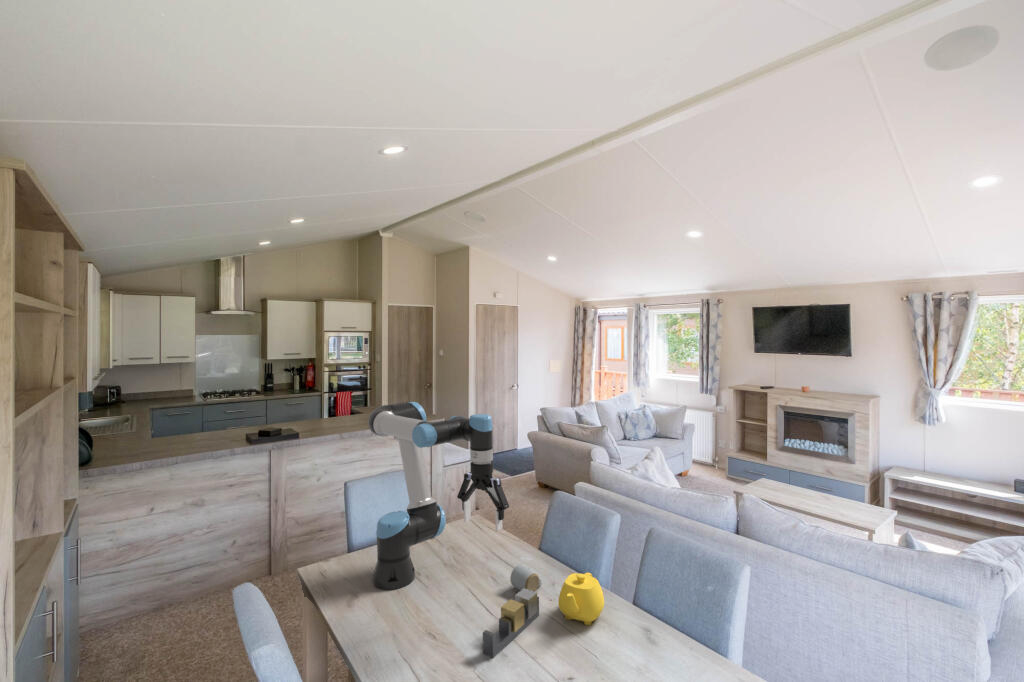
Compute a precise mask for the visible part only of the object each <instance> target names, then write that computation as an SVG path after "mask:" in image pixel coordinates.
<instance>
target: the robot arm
mask: <svg viewBox="0 0 1024 682" xmlns="http://www.w3.org/2000/svg"><path fill="white" fill-rule="evenodd" d="M367 426H368V428H369V430H370V432H371V433H373V434H374V435H376V436H380V437H388V436H390V437H391V436H392V437H393V438H394V440H395V441H397V442H398V444H399V450H400V451H399V452H400V456H401V461H402V462H401V463H402V468H403V473H404V479H405V483H406V491H407V496H408V500H409V501H408V505H407V506H406V510H405V511H404V510H398V511H391V512H389V513H386V514H384V515H382V516H381V517H380V518H379V519H378V521H377V523H376V531H375V532H376V533H375V534H376V549H377V551H376V552H377V561H376V565H375V568H374V569H375V570H374V572H373V574H372V583H373V585H374V586H375V587H376V588H378V589H380V588H381V590H396V589H401V588H403V587H406V586H408V585H410V584H412V583H413V582H414V580H415V578H416V571H415V566H414V564H413V562H412V561H413V560H412V558H411V554H410V550H411V548H410V547H412V546H415V545H418V544H421V543H423V542H426V541H428V540H433V539H435V538H437V537H439V536H440V535H442V533H443V532H444V530H445V529H446V528H445V527H446V513H445V511H444V509H443V507H442V506H441V504H438V503H437V500H436V499H434V498H433V497H432V493H431V488H430V483H429V477H428V473H427V466H426V461H425V456H424V451H423V448H430V447H433V446H439V445H444V444H448V443H452V442H457V441H467V442H469V445H470V446H469V451H470V452H469V454H470V455H469V457H470V458H469V460H470V463H469V464H470V468H469V469H470V471H468V472H466V473H464V474H463V481H462V483H461V486H460V488H459V491H458V493H457V496H456V497H457V499H458V500H461V505H462V511H463V522H465V523H467V522H468V521H470V520H472V516H471V514H472V513H471V510H472V509H471V499H470V497H471V496H472V495H473V493H474V492H475V491H476V489H477V490H481V491H484V492H485V493H486V494H488V496H489V498H490V500H491V502H492V503H493V504H494V505H493V506H495V508H496V510H494V511H495V512H494V516H495V531H496V532H497V531H500V530H502V529H503V520H504V519H505V510H506V509H509V507H510V505H509V502H508V499H507V496H506V494H505V492H504V489H503V486H502V481H501V478H500V477H497V478H493V473H494V462H493V460H494V451H493V450H494V447H493V442H494V441H493V440H494V439H493V436H494V435H493V429H494V427H493V417H492V416H491V415H490V414H487V413H475V414H471V415H470V416H469V418H468V417H465V416H461V415H458V416H457V415H454V416H451V417H450V418H449V419H445V420H444V419H443V420H439V421H428V420H427V415H426V411H425V409H424V407H423V406H422V405H421V404H419V402H416V401H407V402H400V403H392V404H384V405H379V406H378V407H376V408H374V410H372V411H371V413H370V414H369V416H368V418H367ZM471 481H472V483H471Z"/></svg>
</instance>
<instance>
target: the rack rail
mask: <svg viewBox="0 0 1024 682" xmlns="http://www.w3.org/2000/svg"><path fill="white" fill-rule="evenodd" d="M537 609H538V612H537V613H535V614H534V615H533V616H532V617H531V618H530V619H526V608H524V625H523V626H522V627H521V628H519V629H518V630H517V631H516V632H512V627H511V620H508V619H506V618H503V617H501V616H500V617H499V618H498V631H497V632H496V633H494V632H492V631H489V630H487V629H485V630H484V631H483V632H482V654H484V655H486V656H488V657H489V658H492V659H494V658H495V657H496V656H498V654H500V653H501V652H502V651H503V650H504V649H505V648H506V647H507V646H508V645H509V644H510V643H512V641H514V639H516V638H517V637H518V636H519V635H521V633H523V631H524V630H525V629H527V627H529V625H531V624H532V623H533V622H534V621H535V620H536V619H538V618H539V616H540V596H538V595H537Z"/></svg>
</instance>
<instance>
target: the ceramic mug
mask: <svg viewBox="0 0 1024 682" xmlns="http://www.w3.org/2000/svg"><path fill="white" fill-rule="evenodd" d="M509 579H510V584H511V586H513V587H514V588H515V589H518V590H519V591H521V590H522V589H523V588H525V589H528V590H531V591H534V592H536V591H537V590H538V588H539V587H541V586H542V583H543V581H542V580H541V579H540V576H539V575H538V574H537V573H536V572H535V571H534V570H532V569H530V568H529V567H527V566H525V565H524V564H522V563H521V564H518V565H515V567H514V568H513V569H512V571H511V573H510V578H509Z"/></svg>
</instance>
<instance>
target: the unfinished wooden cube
mask: <svg viewBox="0 0 1024 682" xmlns="http://www.w3.org/2000/svg"><path fill="white" fill-rule="evenodd" d="M501 617H503V618H506V619H508V620H511V627H512V632H516V631H517V630H518V629H519V628H521V627H522V626H523V625H524V604H522V603H519V602H517V601H515V599H511V598H510V599H509V600H507V601H506V602H505V603H503V604H502V606H500V618H501Z"/></svg>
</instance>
